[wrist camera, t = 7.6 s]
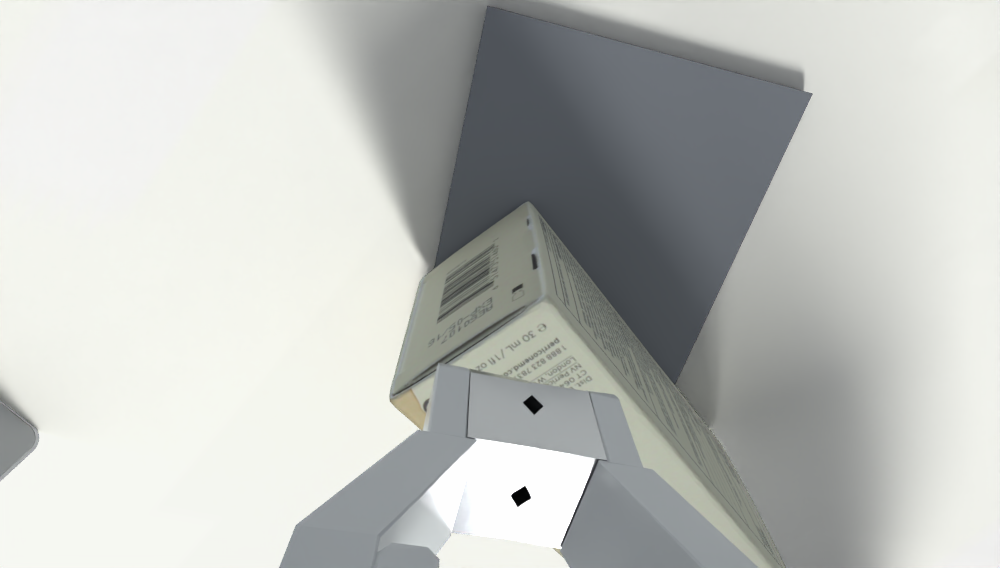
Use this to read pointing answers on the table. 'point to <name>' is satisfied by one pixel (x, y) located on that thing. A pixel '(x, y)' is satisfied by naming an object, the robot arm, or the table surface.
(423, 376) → the skincare box
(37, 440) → the usb wall charger
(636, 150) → the rubber mat
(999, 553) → the table surface
